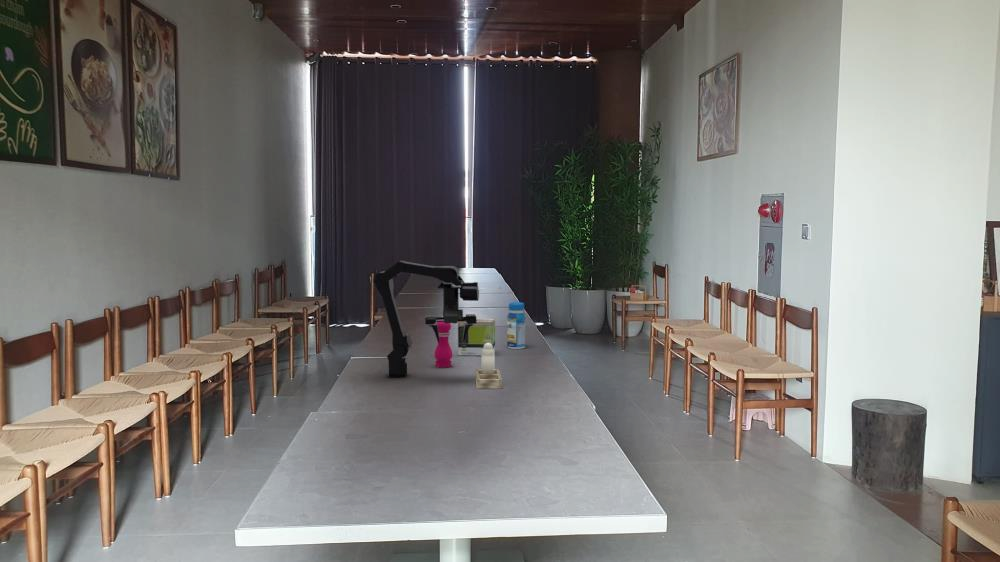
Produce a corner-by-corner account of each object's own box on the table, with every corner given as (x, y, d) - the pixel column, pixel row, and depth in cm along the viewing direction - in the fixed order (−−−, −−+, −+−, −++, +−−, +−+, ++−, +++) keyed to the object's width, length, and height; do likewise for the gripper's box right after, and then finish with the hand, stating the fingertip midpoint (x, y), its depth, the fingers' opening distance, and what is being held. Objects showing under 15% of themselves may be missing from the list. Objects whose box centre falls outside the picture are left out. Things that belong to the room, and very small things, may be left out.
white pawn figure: (479, 378, 273) (480, 343, 272) (483, 375, 278) (483, 341, 276) (492, 379, 272) (493, 344, 271) (495, 376, 277) (495, 341, 275)
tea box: (495, 351, 326) (495, 318, 324) (492, 356, 316) (493, 321, 314) (461, 350, 327) (461, 317, 326) (457, 355, 317) (457, 321, 316)
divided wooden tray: (476, 388, 262) (476, 380, 262) (475, 377, 279) (475, 369, 279) (502, 388, 263) (502, 380, 263) (499, 376, 280) (499, 369, 280)
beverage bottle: (525, 349, 331) (526, 304, 329) (506, 349, 332) (506, 304, 329) (525, 345, 340) (525, 301, 338) (506, 345, 340) (507, 301, 338)
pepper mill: (453, 364, 301) (453, 314, 299) (450, 368, 294) (450, 317, 292) (436, 363, 302) (436, 314, 300) (432, 367, 295) (432, 317, 292)
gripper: (424, 303, 267) (425, 347, 269) (477, 303, 269) (477, 346, 270) (425, 299, 278) (426, 341, 280) (475, 299, 280) (476, 340, 281)
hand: (451, 342), depth 278 cm, fingers open, 9 cm apart
